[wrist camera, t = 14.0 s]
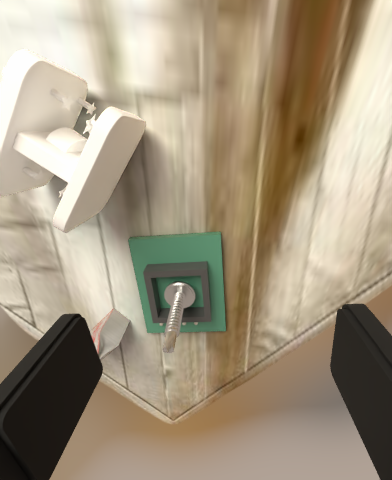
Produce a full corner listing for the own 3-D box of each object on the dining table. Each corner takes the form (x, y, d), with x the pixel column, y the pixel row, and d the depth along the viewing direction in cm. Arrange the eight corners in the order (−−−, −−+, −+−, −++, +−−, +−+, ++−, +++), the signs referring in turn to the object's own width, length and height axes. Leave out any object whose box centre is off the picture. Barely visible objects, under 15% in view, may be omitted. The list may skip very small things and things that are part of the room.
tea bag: (130, 320, 44) (108, 367, 35) (108, 339, 46) (82, 388, 37) (114, 308, 43) (87, 353, 34) (93, 328, 46) (62, 376, 36)
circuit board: (220, 231, 37) (221, 241, 33) (225, 326, 43) (226, 342, 40) (130, 237, 38) (122, 246, 34) (149, 328, 45) (143, 343, 41)
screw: (160, 286, 40) (182, 269, 38) (180, 305, 41) (202, 289, 39) (137, 349, 28) (168, 328, 26) (167, 374, 29) (197, 355, 27)
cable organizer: (103, 214, 37) (58, 245, 26) (38, 174, 35) (-39, 189, 24) (151, 124, 32) (120, 115, 21) (78, 71, 30) (3, 33, 19)
